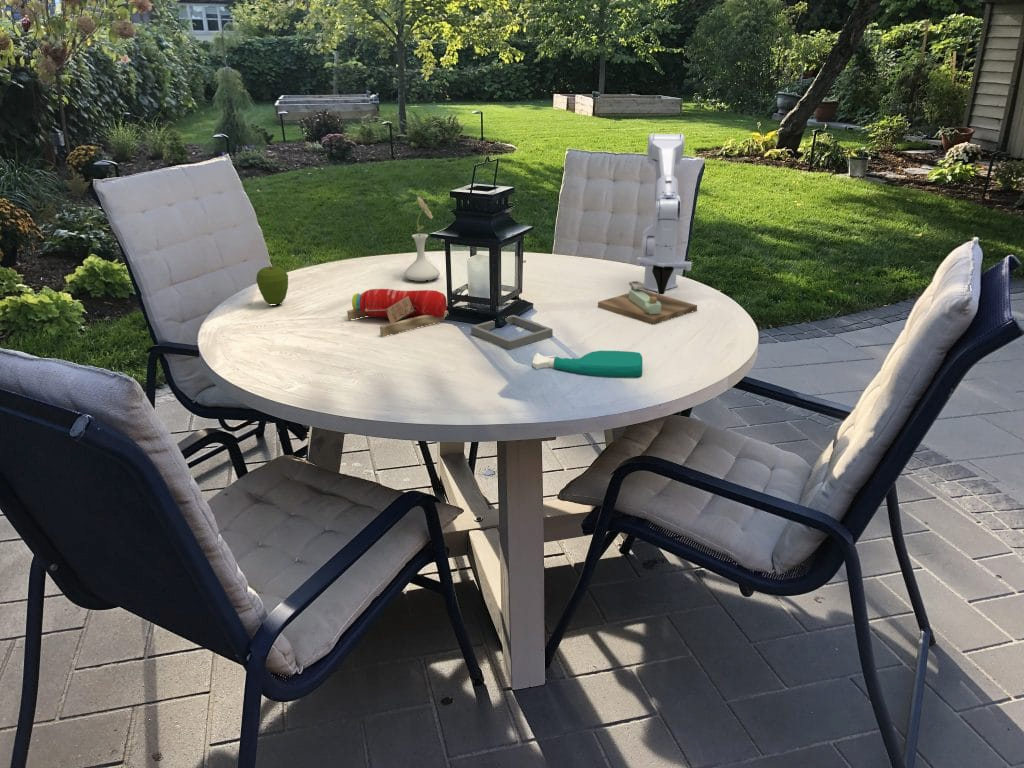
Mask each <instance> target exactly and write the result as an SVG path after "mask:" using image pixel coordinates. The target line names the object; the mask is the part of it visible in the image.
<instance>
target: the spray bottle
mask: <svg viewBox="0 0 1024 768" xmlns="http://www.w3.org/2000/svg"><path fill="white" fill-rule="evenodd" d="M532 367H534V369H536V370H539V369H543V368H545V369H546V368H552V369H556V370H561V371H566V372H570V373H575V374H580V375H584V376H585V375H586V376H595V377H607V378H608V377H609V378H639V377H641V376H642V375H643V356H642V354H641V353H640V352H635V351H627V350H626V351H625V350H594V351H590V352H588V353H586V354H585V355H582V357H579V358H578V357H577V358H575V357H573V358H572V357H571V358H568V357H563V358H561V357H559V356H558V355H551V356H550V355H548V356H544V355H542V354H540V353H539V352H536V353H535V355H534V356H533V360H532Z"/></svg>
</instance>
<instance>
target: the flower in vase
mask: <svg viewBox="0 0 1024 768" xmlns="http://www.w3.org/2000/svg"><path fill="white" fill-rule="evenodd" d="M416 199H417V202H418V204H419V206H420V207H421V210H420V212H419V214H418V217H417V220H416V221H415V222H416V225H417V229H416V232H417V231H418V233H414V234H412V235H411V237H412V238H413V240H414V243H415V245H416V252H417V253H416V254H417V256H416V258H415V260H414V261H413V262H412V263H411V264H410V265H409V266H408V267H407V268H406V269H405V271H404V272H403V277H405V279H407V280H411V281H413V280H414V281H415V282H427V281H426V280H428V281H432V280H435V279H436V278H438V277H439V276H440V274H441V271H440V270H439V269H438V268H437V267H436V266H435V265H434V264H432V263H431V262H430V261H428V260H427V258H426V255H425V254H426V253H425V246H426V245H425V244H426V240H427V238H428V237H429V234H428V233H420V231H421V230H423V228H425V226H424V225H422V224H421V225H420V224H419V221H420V217H421V215H422V213H423V212H424V214H425V215H426V216H427V217H428V218H429V219H430V220H433V218H434V216H433V213H432V212H431V211H430V209H429V208H428V207H429V206H428V205H427V203H425V202H424V199H423V198H421V197H420V196H417V198H416ZM414 281H413V282H414Z"/></svg>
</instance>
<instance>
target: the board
mask: <svg viewBox="0 0 1024 768" xmlns="http://www.w3.org/2000/svg"><path fill="white" fill-rule="evenodd" d="M643 284H644V283H642V282H641V281H640V280H637V281H628V285H629V286H630V288H631V289H630V290H638V289H640V290H641V291H642V292H644V293H645V294H647V295H648V296H650V301H649V302H650V303H656V301H659V302H660V303H661V313H660V314H648V313H646V312H645V310H643V309H642V308H641V307H639V306H638V305H637V304H635V303H634V302H632V301H631V300H630V299H629V292H628V293H625V294H621V295H617V296H615V297H611V298H607V299H604V300H600V301H597V308H600V309H603V310H606V311H610V312H613V313H615V314H619V315H621V314H622V316H625V317H628V318H632V319H634V318H635V319H634V320H637V319H638V320H637V321H640V320H641V321H640V322H644V323H648V324H650V323H651V325H653V324H654V325H657V324H659V323H662V321H663V322H667V321H669V320H672V319H671V318H673V319H675V318H674V317H676V318H678V316H679V317H681V315H682V316H684V315H683V314H685V315H687V314H686V313H688V314H690V313H689V312H691V313H693V312H692V311H694V312H696V311H695V310H697V311H698V305H697V304H694V303H690V302H686V301H683V300H680V299H676V298H673V297H669V296H666V295H663V294H658V293H654V292H652V291H649V290H646V289H645V285H643ZM668 319H669V320H668Z"/></svg>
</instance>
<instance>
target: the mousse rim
mask: <svg viewBox="0 0 1024 768" xmlns="http://www.w3.org/2000/svg"><path fill="white" fill-rule="evenodd" d="M506 317H507V316H506ZM505 321H506V322H507V324H511V325H515V324H517V325H516V326H518V325H519V326H518V327H520V326H522V327H521V328H523V327H525V328H524V329H526V328H527V329H526V330H528V329H529V330H528V331H531V330H532V331H531V332H532V333H528V334H526V335H525V334H524V335H522V336H518V337H515V338H511V339H509V338H507V337H504V336H503V335H499V334H496V333H494V332H491V330H490V329H493V328H494V327H495V321H493V320H489V321H485V322H482V323H478V324H474V325H472V326H470V334H471V335H473V336H476V337H477V338H480V337H481V339H483V340H485V341H487V340H488V341H487V342H490V343H492V342H493V343H492V344H494V345H497V346H499V345H500V347H501V348H505V349H507V350H513V349H517V348H520V347H522V345H523V346H526V345H525V344H527V345H529V343H530V344H533V343H536V342H539V340H540V341H543V340H546V339H550V338H552V337H554V336H553V335H554V334H553V333H554V332H553V328H551V327H548V326H545V325H543V324H539V323H537V322H534V321H532V320H529V319H526V318H523V317H520V316H518V315H515V314H511V315H508V317H507V318H505ZM512 323H514V324H512ZM487 330H489V331H487ZM493 330H494V329H493ZM549 337H550V338H549ZM545 338H546V339H545ZM542 339H543V340H542ZM535 341H536V342H535ZM532 342H533V343H532ZM519 346H520V347H519ZM516 347H517V348H516Z"/></svg>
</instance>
